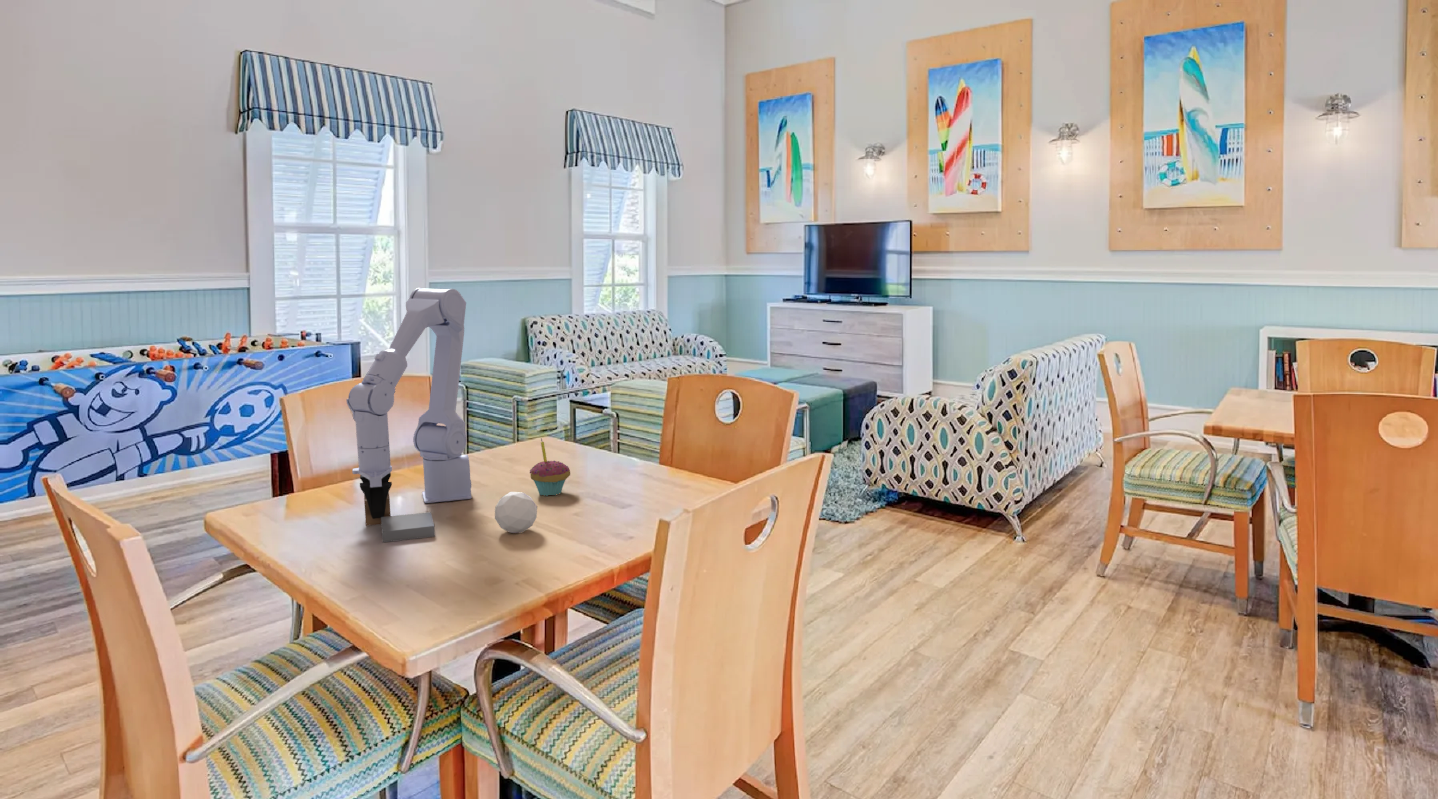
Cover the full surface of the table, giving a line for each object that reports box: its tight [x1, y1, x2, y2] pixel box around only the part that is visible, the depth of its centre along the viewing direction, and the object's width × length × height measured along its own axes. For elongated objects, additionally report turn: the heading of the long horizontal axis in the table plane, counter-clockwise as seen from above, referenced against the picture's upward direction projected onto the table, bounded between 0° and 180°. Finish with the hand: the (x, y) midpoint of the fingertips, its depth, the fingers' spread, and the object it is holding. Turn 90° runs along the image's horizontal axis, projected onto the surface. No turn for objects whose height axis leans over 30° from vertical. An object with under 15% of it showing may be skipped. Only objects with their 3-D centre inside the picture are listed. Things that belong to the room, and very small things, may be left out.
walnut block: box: [363, 491, 392, 527], centre depth 167 cm, size 4×4×5 cm
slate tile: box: [380, 511, 436, 543], centre depth 160 cm, size 9×9×2 cm
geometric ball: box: [494, 491, 538, 534], centre depth 161 cm, size 8×8×8 cm
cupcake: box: [529, 438, 571, 497], centre depth 185 cm, size 9×8×12 cm
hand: (377, 513), depth 167 cm, fingers open, 5 cm apart
